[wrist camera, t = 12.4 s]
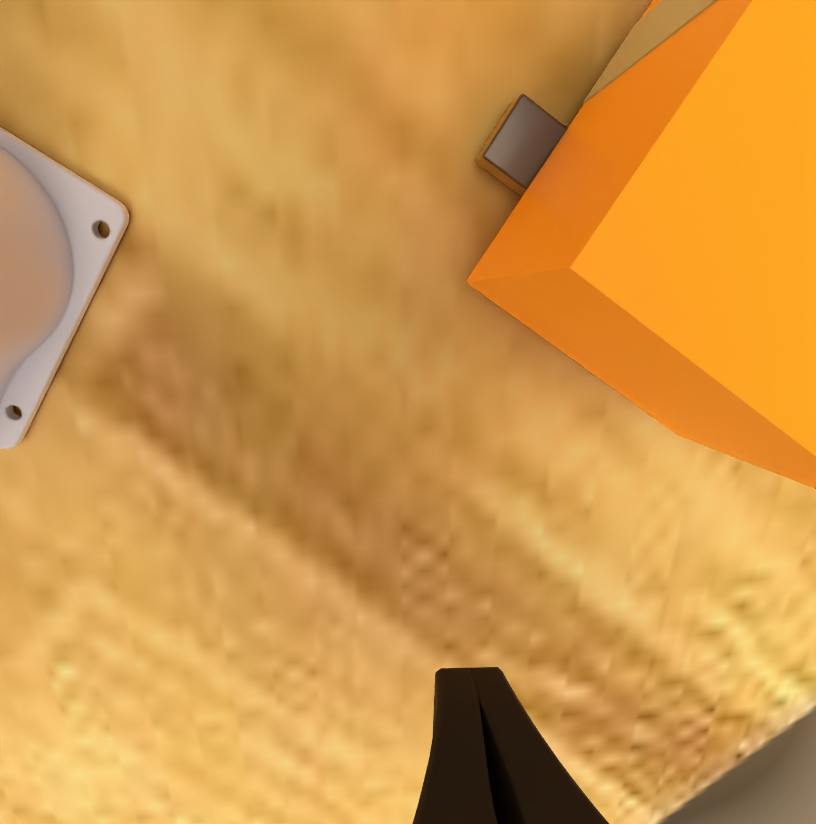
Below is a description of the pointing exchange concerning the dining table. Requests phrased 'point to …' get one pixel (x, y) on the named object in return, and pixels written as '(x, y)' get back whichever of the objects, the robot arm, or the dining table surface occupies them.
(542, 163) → the walnut batten
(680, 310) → the orange juice
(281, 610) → the dining table surface
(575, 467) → the dining table surface
